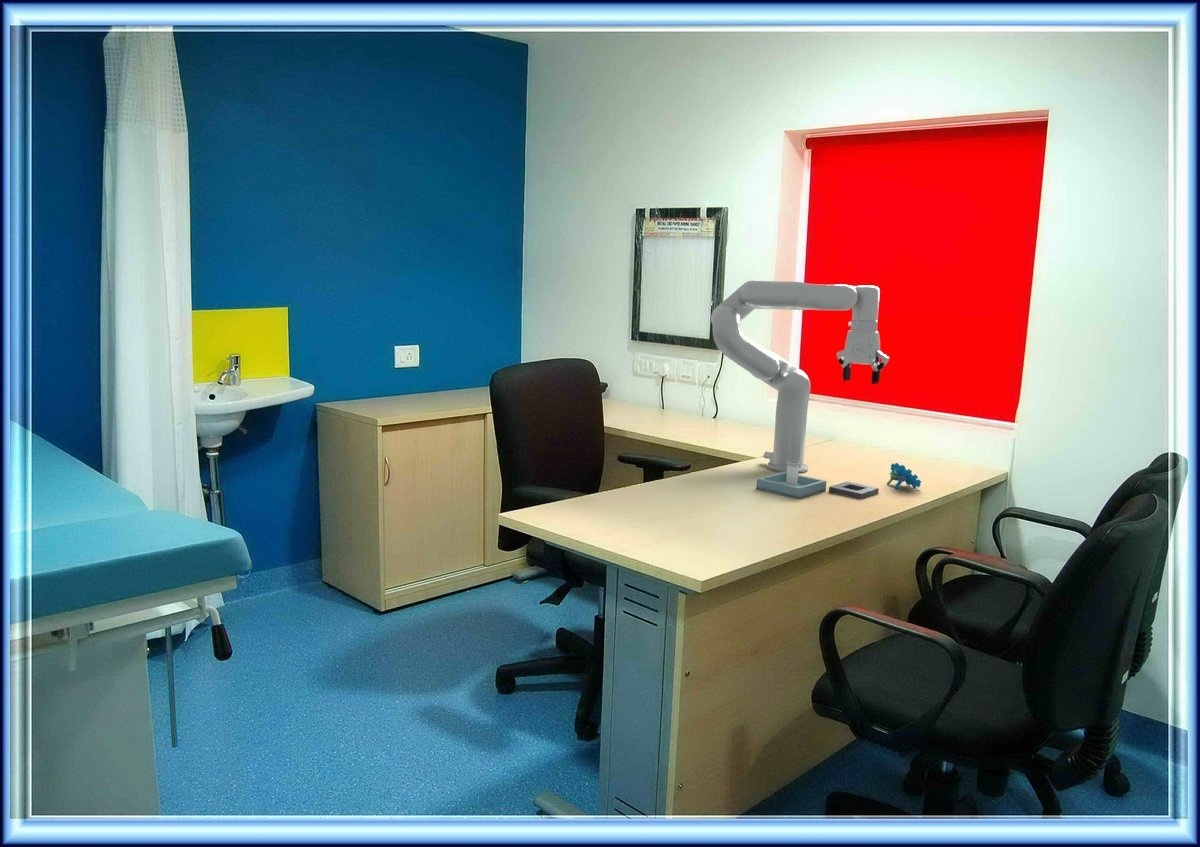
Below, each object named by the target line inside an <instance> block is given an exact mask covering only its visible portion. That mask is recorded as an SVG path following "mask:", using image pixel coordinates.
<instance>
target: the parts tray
mask: <svg viewBox="0 0 1200 847" xmlns="http://www.w3.org/2000/svg"><path fill="white" fill-rule="evenodd" d="M786 475H787V472H778V473H775V474H771V475H767V476H763V477H760V478H756V488H755V489H756V490H757V491H758V490H759V491H764V492H767V493H771V494H776V495H779V496H784V497H788V498H792V499H796V500H800V499H804V498H807V497H811V496H814V495H818V494H821V493H825V492H827V480H824V479H819V478H815V477H814V478H813V477H809V476H805V475H801V474H798V483H797V485H798V487H795V486H791V485H787V484H786ZM817 493H818V494H817Z"/></svg>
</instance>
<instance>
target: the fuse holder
mask: <svg viewBox="0 0 1200 847" xmlns="http://www.w3.org/2000/svg"><path fill="white" fill-rule="evenodd" d="M879 488H880V487H876V486H871V485H865V484H861V483H855V482H851V481H844V482H843V481H842V482H839V483H837V484H834V485H830V486H828V493H833V494H836V493H837V495H842V496H845V495H846V497H851V498H856V499H860V500H862V499H866V498H868V497H871V496H874V495H878V494H879V490H880V489H879Z"/></svg>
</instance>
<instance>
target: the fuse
mask: <svg viewBox="0 0 1200 847" xmlns="http://www.w3.org/2000/svg"><path fill="white" fill-rule="evenodd" d="M799 465H800V462H799V461H794V460H788V461H787V475H786V484H787V485H791V486H795V487H798V485H797V483H798V475H799V473H798V469H799Z"/></svg>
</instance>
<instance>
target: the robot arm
mask: <svg viewBox="0 0 1200 847" xmlns="http://www.w3.org/2000/svg"><path fill="white" fill-rule="evenodd" d="M880 293H881V292H880V288H879V287H878V286H875V285H857V286H856V285H855V286H854V285H848V284H842V283H840V284H817V283H806V282H802V281H800V282H799V281H778V280H777V281H775V280H773V281H772V280H748V281H746V282H744V283H743V284H741V285H740V287H738V288H737V289H736V290H734V291H733V293H732V294H731V295H729V296H728V297H727V298H726V299H724V300H723V301H722V302H721V303H719V304H718V305H717V306H716V307H715V308H714V309H713V311H712V312H711V315H710V320H711V325H712V335H713V336H712V337H713V340H714V343H715V345H716V347H717V349H718V350H719V351H720V352H721V353H722V354H723V355H724V356H725V357H727V358H728V359H730V360H731V361H732V362H733V363H735V364H737V365H738V366H740V367H741V368H743V369H744V370H745V371H747V372H748V373H750V374H751V375H752V376H753V377H754V378H756V379H758V380H759V381H760V380H761V382H763V383H765V384H766V385H768V386H770V387H771V388H773V389H775V390H776V392H777V398H776V408H775V423H774V439H773V451H772V452H771V451H768V450H767V451H765V452H764V453H763V456H762V457H763V459H769V462H767V465H766V466H767V468H768V469H770V470H772V471H776V472H779V473H782V472H787V461H788V460H794V461H799V462H800V465H799V469H798V474H799V473H804V472H807V471H808V470H809V466H808V464H805V463H804V462H805V461H804V459H805V446H806V434H807V433H806V432H807V422H808V421H807V419H808V409H809V408H808V406H809V400H810V394H811V380H810V378H809V377H808V375H807V374H806V372H805V371H804V370H802V369H800V368H799V367H797V366H795V365H793V364H792V363H791V362H789V361H787V360H786V359H784V358H783V357H781V356H780V355H778V354H777V353H775V352H773V351H772V350H770V349H769V348H766V347H762V346H761V345H759V344H758V343H756V342H754V341H753V339H751V338H749V337H748V336H746V335H745V334H743V332H742V331H741V328H740V324H741V321H743V320H745V318H747V317H748V316H749V314H751V313H752V312H753V311H754V310H784V311H786V310H787V311H789V310H790V311H796V310H797V311H806V310H807V311H808V310H815V311H850V310H851V309H852V314H851V316H852V317H851V321H849V322H848V324H847V325H848V327H851V328H850V330H848V331H847V336H846V339H845V346H844V349H843V350H839V351H838V352H836V357H837V359H838V362H839V364H840V365H841V367H842V381H844V382H847V381H850V380H851V377H852V367H851V365H852V364H858V365H867V366H868V365H870V366H871V368H872V369H873V370H872V372H871V380H870V381H871V382H870V383H871V385H878V384H879V382H880V378H881V371H882V370H883V368H885V367H886V366H887V364H888V362H889V361H890V357H889V356H887V354H884V353H883V352H882V351H881V339H880V333H879V331H878V319H879V307H880V306H879V305H880V304H879V303H880ZM880 360H881V362H880Z"/></svg>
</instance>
